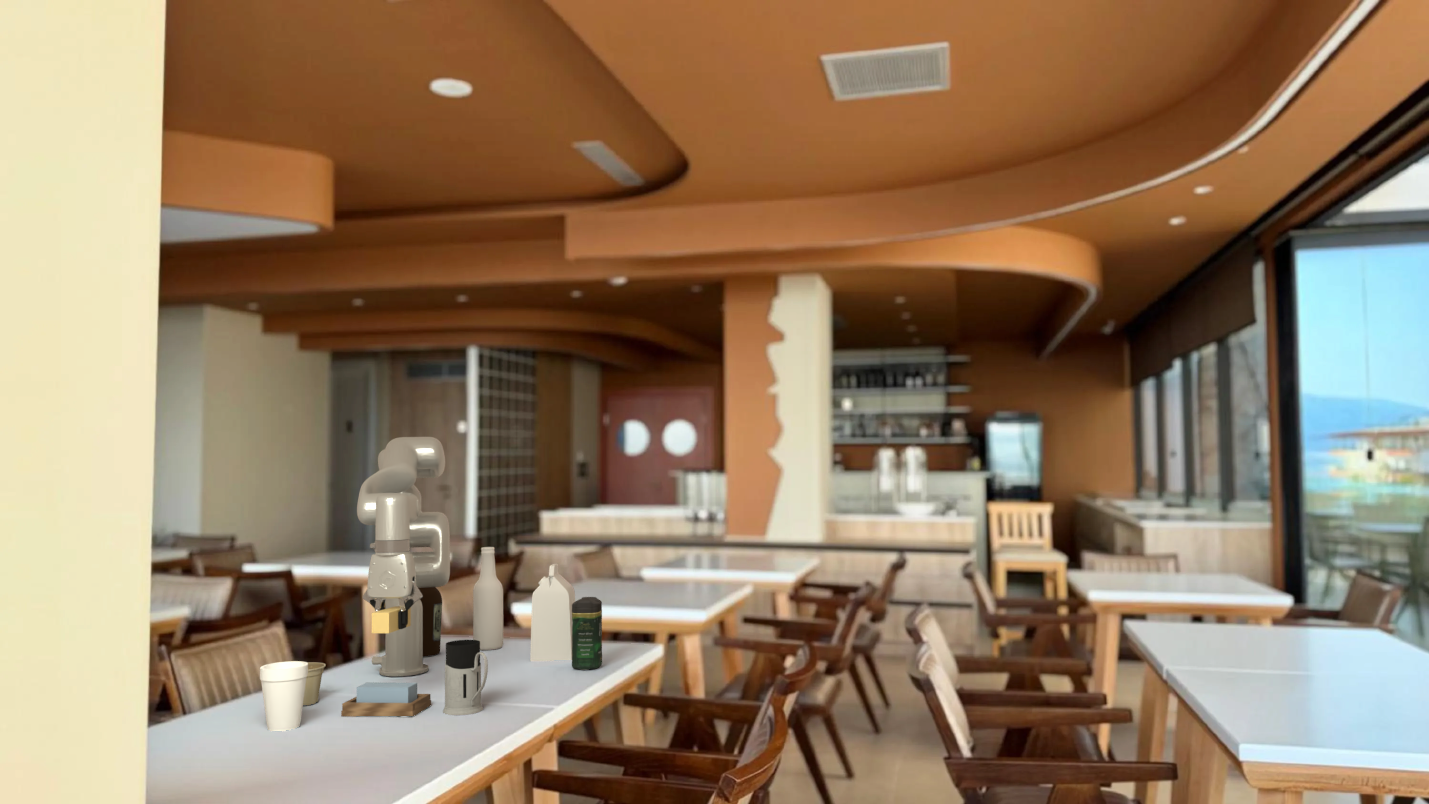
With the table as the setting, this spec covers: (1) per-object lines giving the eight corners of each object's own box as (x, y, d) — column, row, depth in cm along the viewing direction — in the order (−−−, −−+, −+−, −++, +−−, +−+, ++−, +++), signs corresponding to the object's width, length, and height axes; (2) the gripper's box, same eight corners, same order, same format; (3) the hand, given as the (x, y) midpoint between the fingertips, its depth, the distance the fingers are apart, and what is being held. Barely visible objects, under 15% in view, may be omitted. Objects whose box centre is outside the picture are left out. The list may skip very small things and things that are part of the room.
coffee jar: (599, 670, 266) (598, 599, 267) (569, 670, 266) (568, 600, 267) (605, 663, 275) (604, 594, 277) (576, 663, 276) (575, 595, 277)
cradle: (341, 716, 222) (341, 703, 222) (363, 704, 232) (363, 692, 232) (412, 717, 220) (412, 704, 220) (431, 705, 230) (431, 693, 230)
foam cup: (317, 723, 216) (317, 662, 217) (286, 734, 207) (286, 670, 208) (281, 720, 219) (282, 660, 220) (249, 731, 210) (249, 668, 211)
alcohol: (468, 650, 298) (468, 548, 300) (480, 645, 307) (479, 546, 309) (496, 650, 297) (496, 548, 298) (507, 645, 305) (507, 546, 307)
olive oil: (400, 658, 288) (400, 570, 290) (410, 651, 299) (410, 566, 300) (437, 657, 289) (437, 569, 290) (446, 650, 299) (445, 565, 301)
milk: (571, 660, 280) (570, 566, 282) (530, 661, 280) (529, 567, 282) (577, 652, 292) (577, 562, 294) (538, 653, 292) (537, 562, 294)
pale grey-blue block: (356, 707, 224) (356, 687, 225) (366, 702, 229) (366, 682, 230) (408, 708, 223) (408, 687, 223) (417, 702, 228) (417, 682, 228)
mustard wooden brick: (371, 633, 224) (371, 612, 225) (394, 625, 236) (394, 606, 236) (389, 633, 224) (389, 612, 224) (410, 625, 236) (410, 606, 236)
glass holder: (470, 703, 231) (469, 637, 232) (504, 713, 221) (503, 644, 222) (435, 710, 225) (435, 642, 226) (469, 721, 215) (468, 650, 216)
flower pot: (334, 700, 237) (334, 663, 237) (302, 709, 228) (303, 671, 229) (305, 697, 241) (305, 661, 241) (272, 706, 232) (273, 668, 233)
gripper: (350, 549, 229) (349, 631, 228) (421, 548, 227) (421, 630, 226) (365, 547, 236) (364, 626, 235) (433, 546, 235) (434, 625, 233)
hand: (392, 627), depth 230 cm, fingers closed on mustard wooden brick, 4 cm apart
